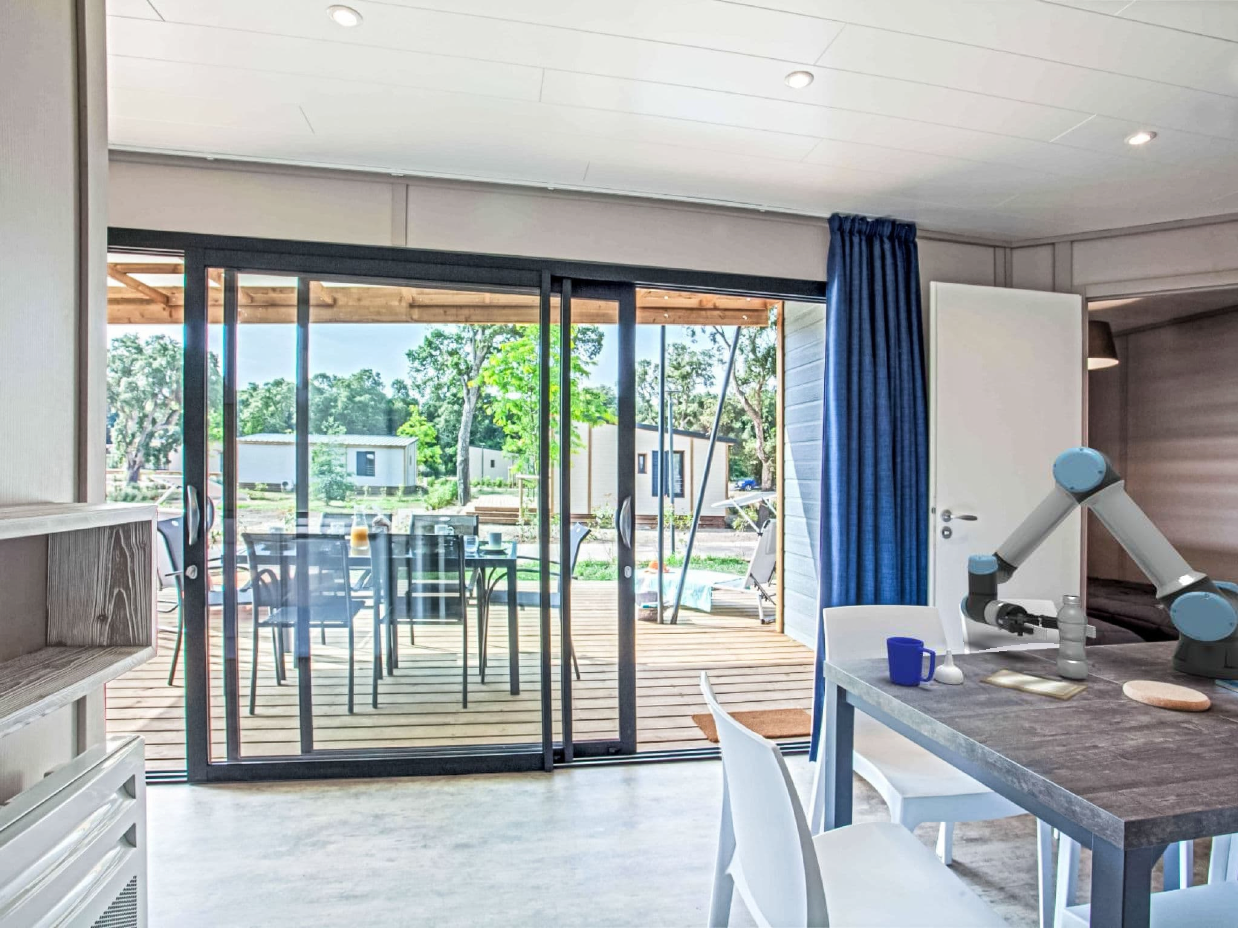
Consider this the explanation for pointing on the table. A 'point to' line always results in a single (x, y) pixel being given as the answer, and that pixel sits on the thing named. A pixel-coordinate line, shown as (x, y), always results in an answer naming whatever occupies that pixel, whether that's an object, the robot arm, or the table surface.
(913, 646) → the mug
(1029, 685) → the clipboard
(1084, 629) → the plastic bottle
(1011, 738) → the table surface
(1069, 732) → the table surface
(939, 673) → the garlic bulb
